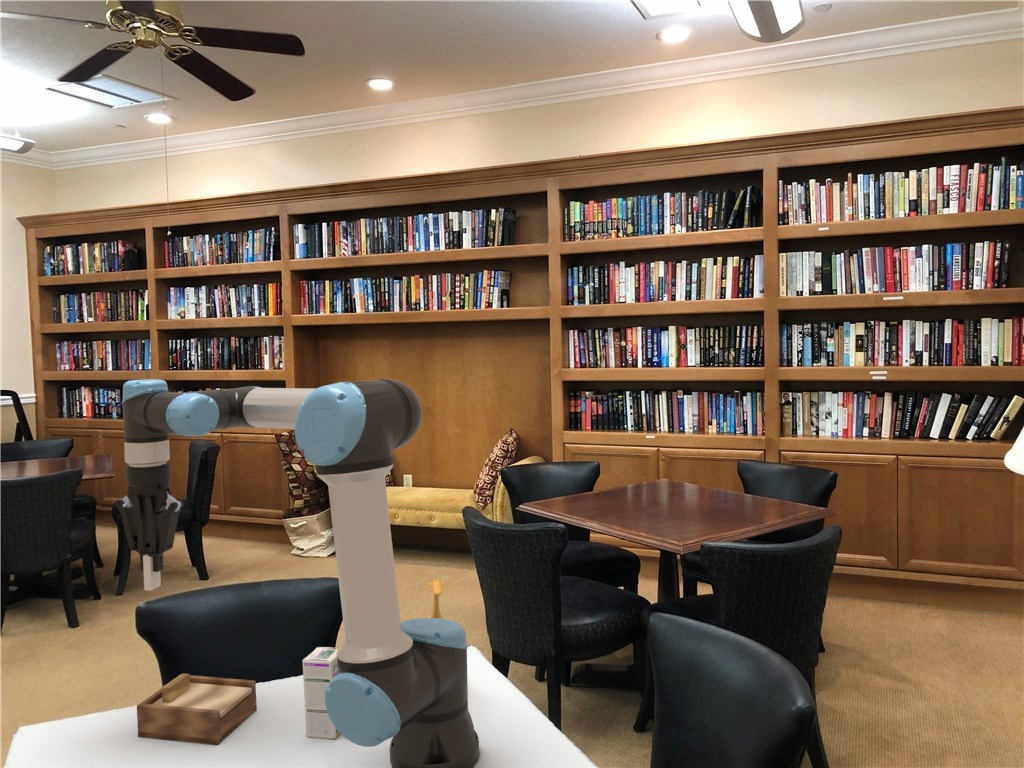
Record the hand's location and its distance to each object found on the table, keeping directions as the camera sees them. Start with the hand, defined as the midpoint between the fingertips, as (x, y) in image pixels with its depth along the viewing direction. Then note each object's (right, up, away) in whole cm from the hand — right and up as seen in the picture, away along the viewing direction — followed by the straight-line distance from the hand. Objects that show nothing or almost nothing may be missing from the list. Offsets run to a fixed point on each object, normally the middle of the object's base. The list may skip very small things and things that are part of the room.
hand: (152, 587), depth 146 cm
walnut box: (+9, -25, 0) cm, 27 cm away
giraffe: (+52, -24, +11) cm, 58 cm away
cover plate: (+9, -21, -1) cm, 23 cm away
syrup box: (+34, -25, -4) cm, 42 cm away
